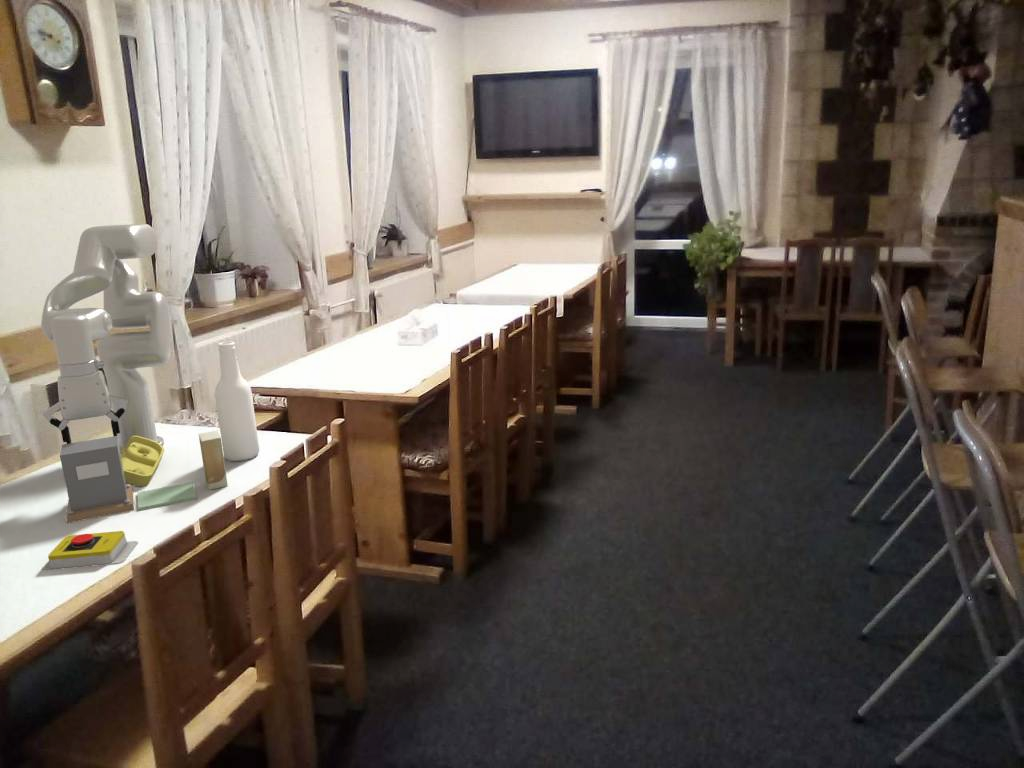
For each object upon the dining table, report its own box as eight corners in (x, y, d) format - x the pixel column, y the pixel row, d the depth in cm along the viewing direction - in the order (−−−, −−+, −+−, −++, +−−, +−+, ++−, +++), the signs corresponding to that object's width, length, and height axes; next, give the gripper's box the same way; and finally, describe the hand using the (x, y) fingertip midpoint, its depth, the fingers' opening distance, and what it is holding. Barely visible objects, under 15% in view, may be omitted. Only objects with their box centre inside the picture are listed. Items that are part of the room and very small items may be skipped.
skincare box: (205, 481, 189) (197, 433, 186) (224, 477, 191) (217, 429, 188) (208, 490, 184) (201, 440, 181) (228, 486, 186) (220, 437, 183)
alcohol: (265, 450, 209) (250, 338, 201) (250, 462, 201) (234, 346, 193) (234, 450, 211) (218, 339, 203) (218, 462, 202) (200, 347, 194)
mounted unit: (70, 503, 180) (57, 442, 176) (132, 491, 186) (122, 432, 182) (67, 523, 170) (53, 459, 166) (133, 509, 175) (122, 447, 171)
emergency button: (57, 530, 157) (136, 523, 159) (61, 550, 158) (140, 543, 160) (35, 552, 148) (119, 544, 150) (40, 573, 149) (123, 565, 151)
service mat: (137, 494, 183) (137, 492, 183) (193, 484, 188) (192, 481, 188) (138, 510, 175) (138, 507, 174) (196, 498, 179) (196, 496, 179)
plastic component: (150, 478, 187) (105, 465, 184) (141, 504, 189) (96, 492, 186) (168, 444, 206) (128, 432, 203) (159, 469, 207) (119, 457, 204)
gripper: (120, 360, 186) (133, 429, 191) (36, 371, 179) (51, 442, 184) (121, 366, 180) (133, 438, 184) (33, 378, 173) (49, 452, 177)
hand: (92, 440), depth 184 cm, fingers open, 9 cm apart
